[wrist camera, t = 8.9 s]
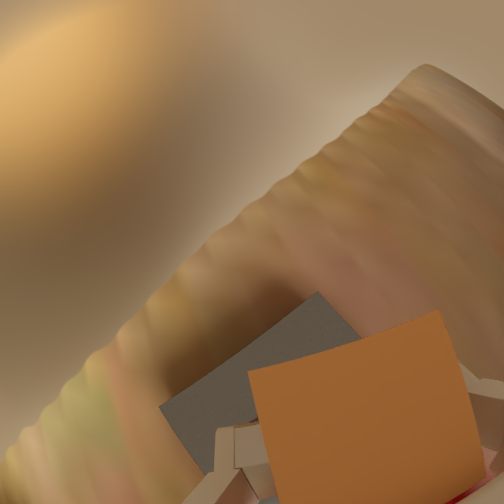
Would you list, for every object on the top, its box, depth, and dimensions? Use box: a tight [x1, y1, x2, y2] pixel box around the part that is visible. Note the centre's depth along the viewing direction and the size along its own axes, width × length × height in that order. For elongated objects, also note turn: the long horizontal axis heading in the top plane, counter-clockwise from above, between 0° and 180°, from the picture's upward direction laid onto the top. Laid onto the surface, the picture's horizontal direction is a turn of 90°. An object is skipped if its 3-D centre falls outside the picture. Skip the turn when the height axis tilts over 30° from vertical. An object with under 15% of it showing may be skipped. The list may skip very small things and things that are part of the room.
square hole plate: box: [159, 292, 361, 504], centre depth 21 cm, size 16×16×4 cm
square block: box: [247, 309, 486, 504], centre depth 8 cm, size 4×4×8 cm
